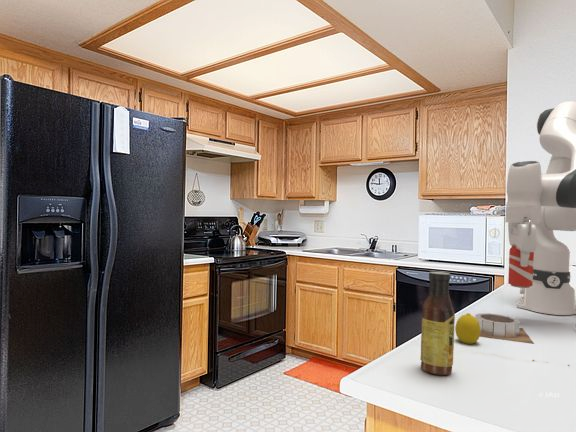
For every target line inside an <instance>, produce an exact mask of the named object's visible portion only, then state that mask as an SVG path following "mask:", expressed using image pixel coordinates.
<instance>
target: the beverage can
mask: <svg viewBox="0 0 576 432" xmlns="http://www.w3.org/2000/svg"><path fill="white" fill-rule="evenodd" d="M508 256H509V257H508V278H507V279H508V280H507V282H508V283H507V284H509V285H510V286H511V287H513V288H519V289H520V288H529V287H530V286H533V260H534V252H530V256H529V259H528V266H527V267H522V266H520V257H521V254H520V250H518V249H517V248H516V245H512V246H511V247H510V248H509V253H508Z"/></svg>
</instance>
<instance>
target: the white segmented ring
mask: <svg viewBox="0 0 576 432" xmlns="http://www.w3.org/2000/svg"><path fill="white" fill-rule="evenodd" d="M474 315H475V316H474V317H475V318H476V319H477V320H478V322H479V325H480V332H481V333H484V334H487V335H491V336H497V337H517V336H519V328H521V327H520V323H521V322H520V320H519V319H517V318H515V317H512V316H508V315H503V314H499V313H497V314H496V313H490V312H489V313H485V312H484V313H477V314H474Z"/></svg>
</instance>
